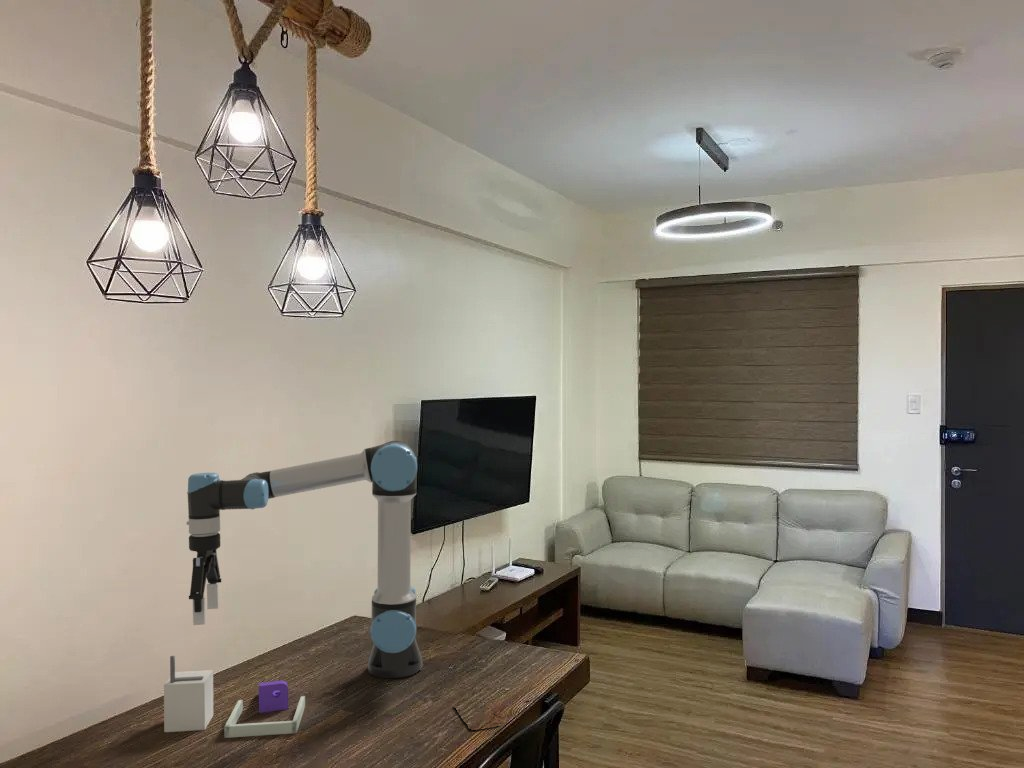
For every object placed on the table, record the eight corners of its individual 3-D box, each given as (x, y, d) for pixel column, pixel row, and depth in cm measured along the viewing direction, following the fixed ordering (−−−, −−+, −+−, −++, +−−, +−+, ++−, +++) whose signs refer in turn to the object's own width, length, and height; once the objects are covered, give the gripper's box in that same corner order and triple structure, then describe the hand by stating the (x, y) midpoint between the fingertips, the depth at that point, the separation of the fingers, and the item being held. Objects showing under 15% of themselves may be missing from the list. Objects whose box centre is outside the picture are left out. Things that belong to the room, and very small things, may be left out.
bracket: (288, 710, 190) (288, 682, 190) (259, 714, 188) (259, 686, 188) (286, 692, 202) (286, 665, 202) (258, 695, 200) (258, 669, 200)
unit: (213, 714, 187) (213, 644, 187) (204, 729, 179) (204, 656, 179) (175, 716, 186) (174, 646, 186) (164, 732, 178) (163, 659, 178)
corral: (305, 706, 192) (305, 696, 192) (296, 733, 177) (296, 722, 177) (238, 710, 190) (238, 700, 190) (224, 737, 175) (224, 726, 175)
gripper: (202, 525, 209) (203, 603, 209) (174, 544, 184) (176, 632, 184) (230, 524, 210) (232, 601, 210) (207, 542, 185) (209, 630, 186)
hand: (206, 616), depth 197 cm, fingers open, 13 cm apart
